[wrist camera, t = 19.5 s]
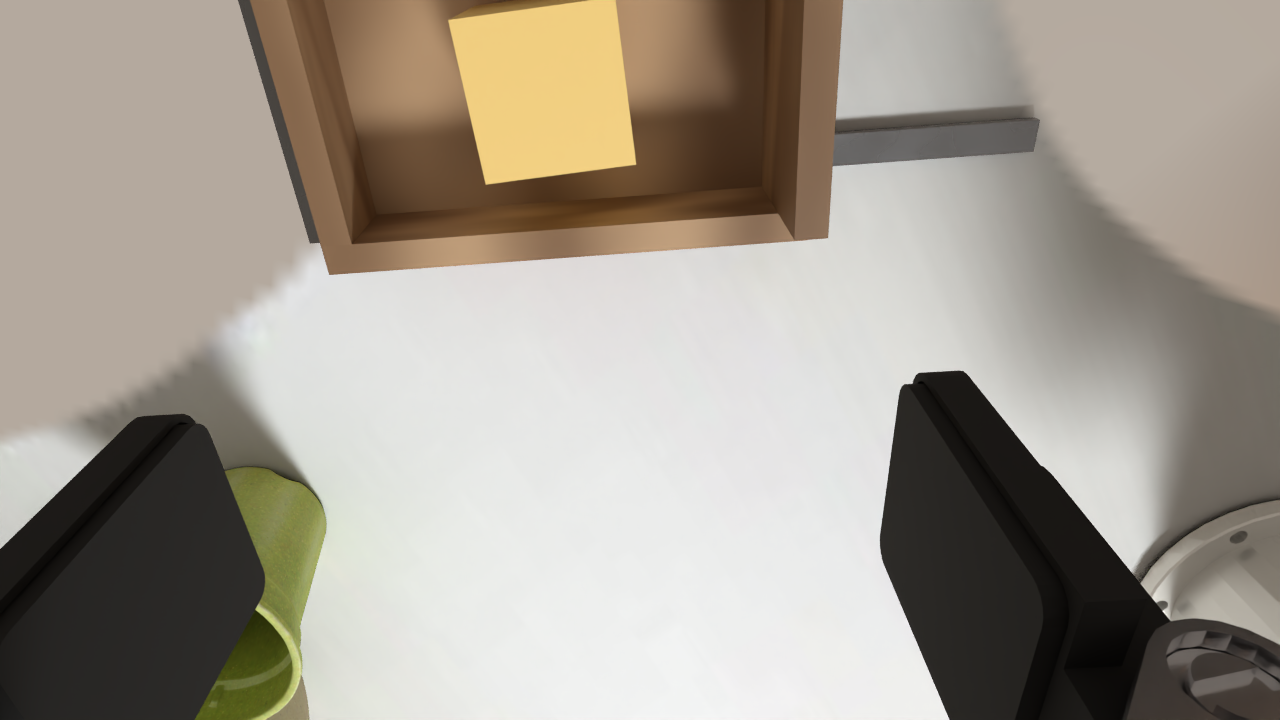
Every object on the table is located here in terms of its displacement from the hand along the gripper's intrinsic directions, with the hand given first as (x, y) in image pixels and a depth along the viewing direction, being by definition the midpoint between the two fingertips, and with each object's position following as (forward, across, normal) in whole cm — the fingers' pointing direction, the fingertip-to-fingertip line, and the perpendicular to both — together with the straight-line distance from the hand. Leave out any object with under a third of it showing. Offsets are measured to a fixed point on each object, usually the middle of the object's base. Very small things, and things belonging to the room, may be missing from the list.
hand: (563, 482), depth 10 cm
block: (+18, +1, -3) cm, 19 cm away
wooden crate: (+21, +1, -3) cm, 21 cm away
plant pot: (+21, +18, +17) cm, 33 cm away
